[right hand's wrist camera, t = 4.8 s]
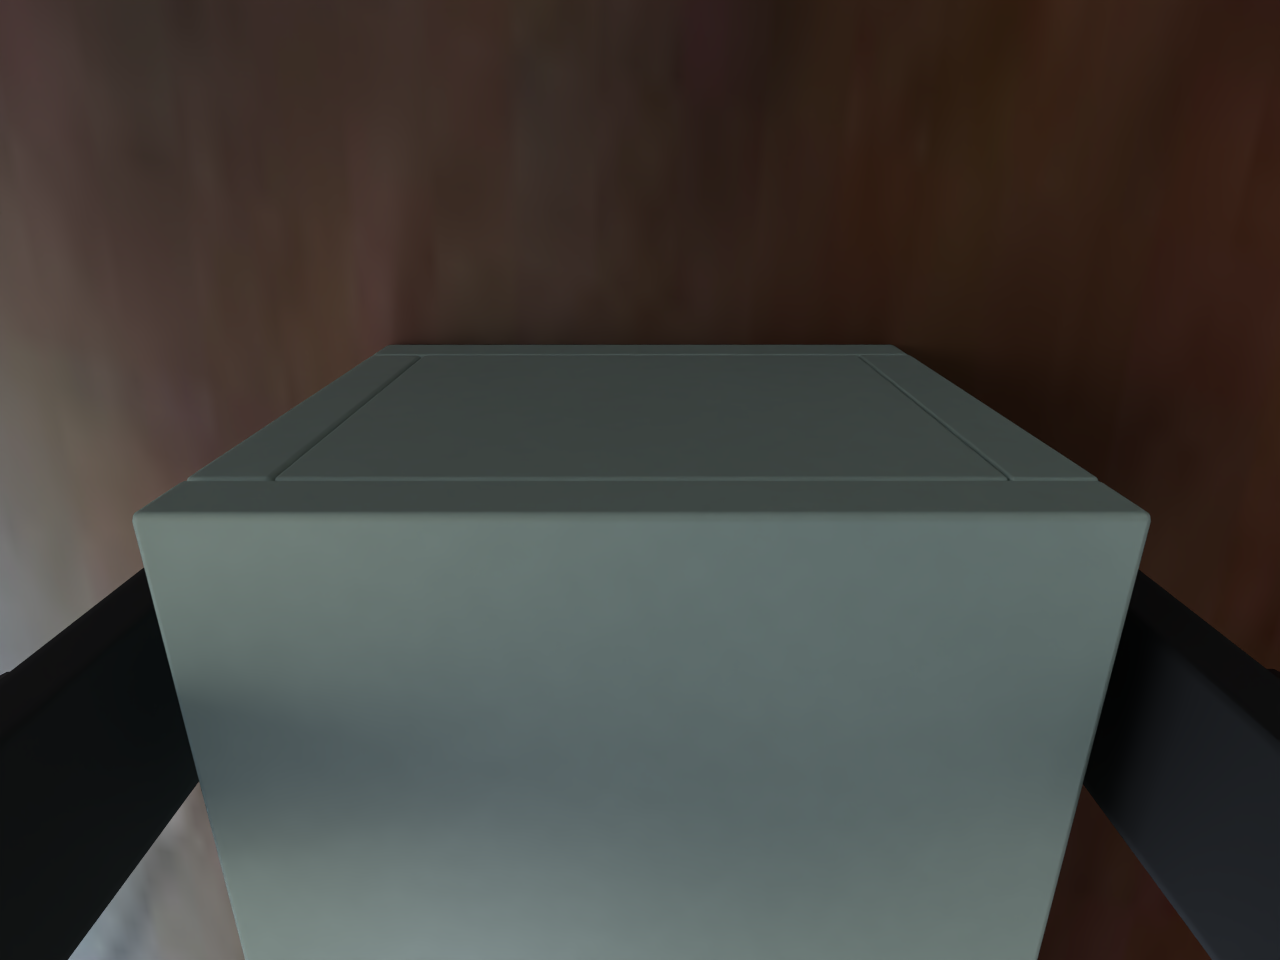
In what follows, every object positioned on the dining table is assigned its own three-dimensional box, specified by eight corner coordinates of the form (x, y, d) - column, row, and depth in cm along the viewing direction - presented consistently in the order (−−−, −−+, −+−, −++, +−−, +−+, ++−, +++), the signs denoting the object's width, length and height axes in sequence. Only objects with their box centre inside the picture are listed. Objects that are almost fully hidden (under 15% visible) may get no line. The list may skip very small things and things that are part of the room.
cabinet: (810, 1052, 23) (898, 1502, 15) (470, 1052, 23) (383, 1502, 15) (894, 344, 16) (1157, 514, 8) (386, 344, 16) (125, 513, 8)
